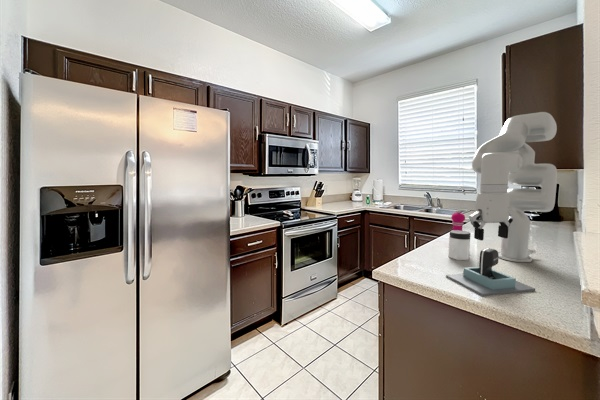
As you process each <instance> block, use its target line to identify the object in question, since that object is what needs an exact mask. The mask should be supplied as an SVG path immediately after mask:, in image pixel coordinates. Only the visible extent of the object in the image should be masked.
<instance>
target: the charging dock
mask: <svg viewBox="0 0 600 400" xmlns="http://www.w3.org/2000/svg"><path fill="white" fill-rule="evenodd" d="M462 271H463V273H455V274H454V273H453V274H445V277H446V278H448V279H449V280H451V281H453V282H455V283H457V285H458V284H459V285H460V286H462V287H464V288H466V289H468V290H470V291H471V292H473V293H475V294H476V295H477V294H478V295H479V296H481V297H488V296H489V297H491V296H492V297H493V296H499V295H508V294H518V293H519V294H520V293H528V292H535V291H536V288H535V287H532V286H530V285H528V284H525V283H522V282H521V281H518V280H517V278H516V277H513V276H511V275H507V274H505V273H503V272H500V271H497V270H495V269H493V268H492V274H493V276H494V278H495V279H490V278H488V277H486V276H483V275H481V274H479V266H472V267H471V266H470V267H463V270H462Z"/></svg>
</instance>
